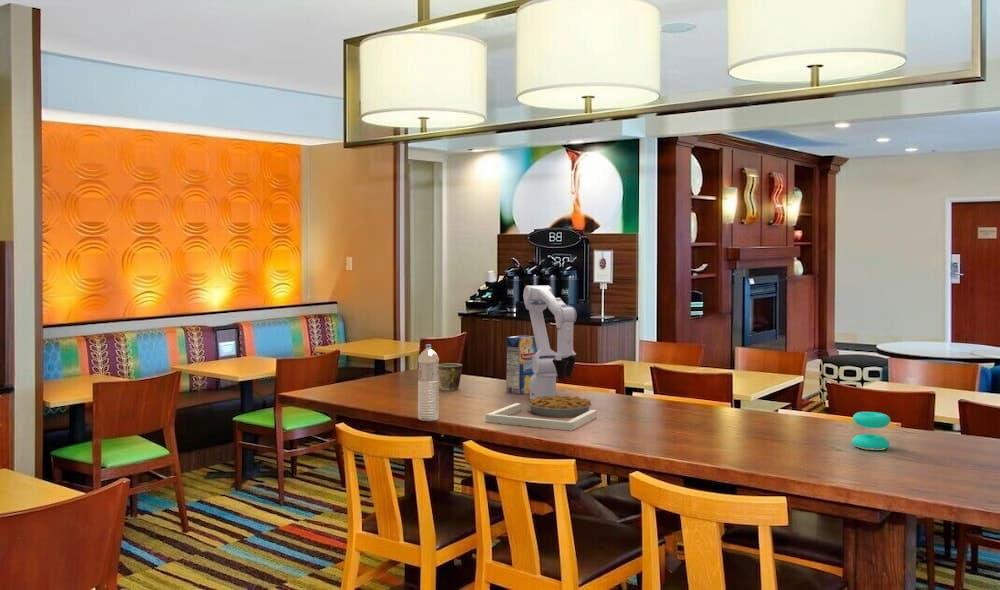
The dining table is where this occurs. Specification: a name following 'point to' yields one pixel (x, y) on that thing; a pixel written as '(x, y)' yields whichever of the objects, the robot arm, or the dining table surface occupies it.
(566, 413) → the pie
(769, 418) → the dining table surface
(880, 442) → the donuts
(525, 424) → the serving corral
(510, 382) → the beverage box
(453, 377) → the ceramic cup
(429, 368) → the water bottle
